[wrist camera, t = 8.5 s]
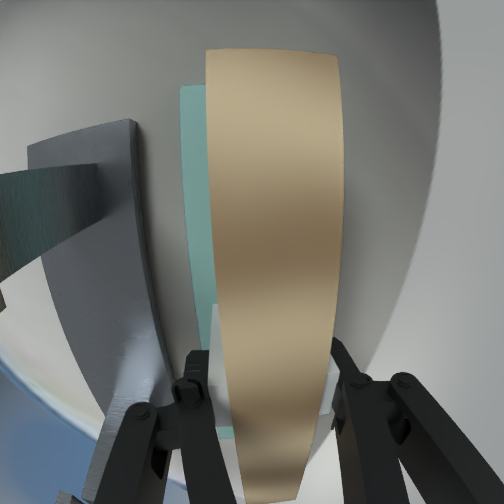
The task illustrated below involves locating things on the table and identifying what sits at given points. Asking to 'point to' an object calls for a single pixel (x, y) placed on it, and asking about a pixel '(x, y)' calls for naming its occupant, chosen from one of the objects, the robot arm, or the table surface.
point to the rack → (91, 268)
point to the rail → (275, 249)
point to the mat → (198, 211)
